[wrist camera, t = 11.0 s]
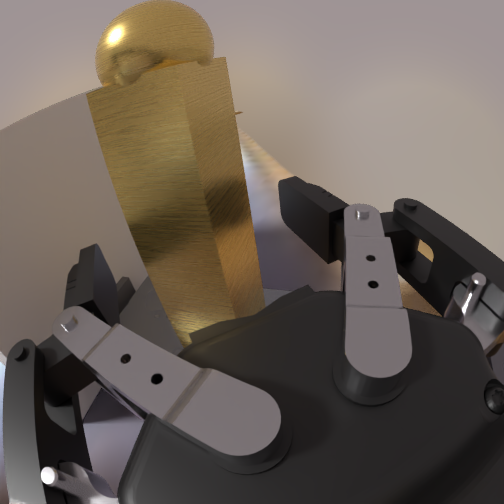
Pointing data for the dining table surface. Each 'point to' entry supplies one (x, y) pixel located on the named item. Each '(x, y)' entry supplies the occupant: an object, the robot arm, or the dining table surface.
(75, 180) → the cabinet
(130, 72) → the gold sphere topped award
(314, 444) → the robot arm
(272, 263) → the dining table surface
